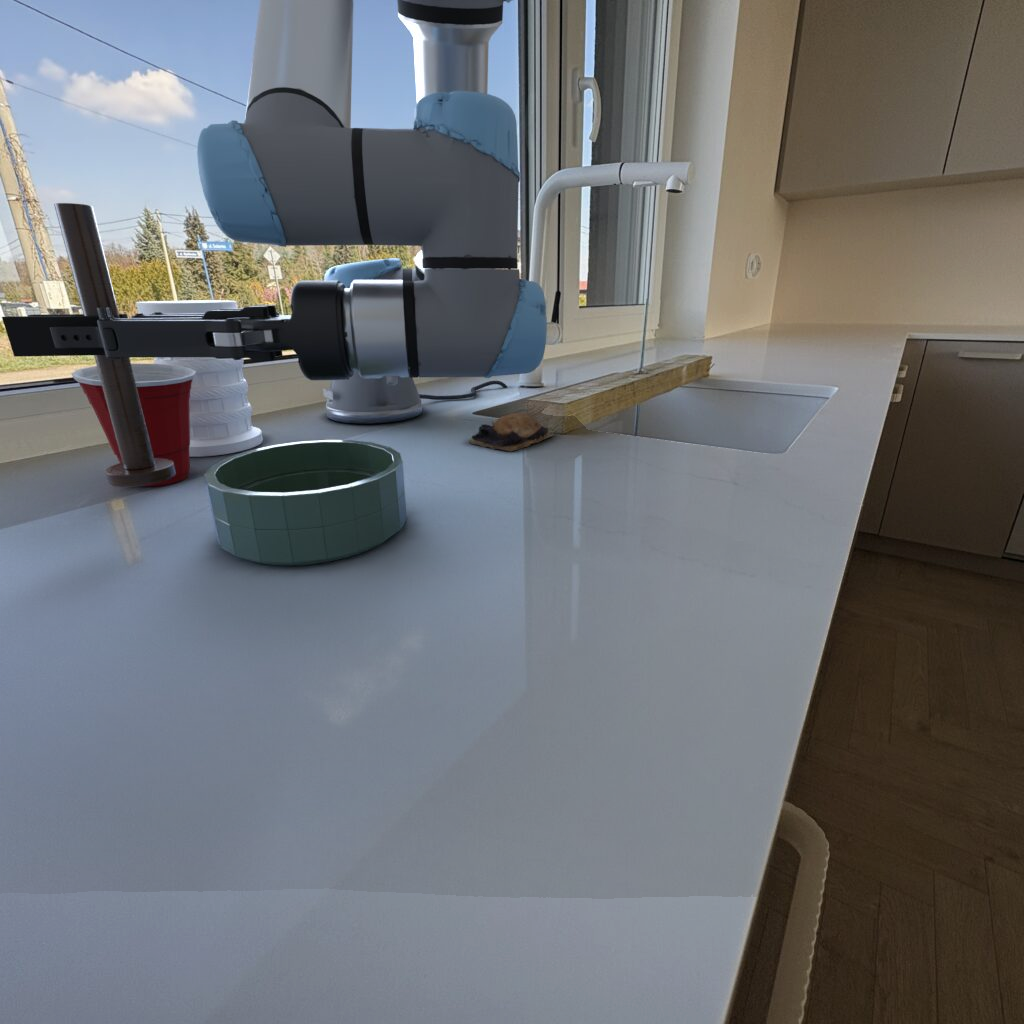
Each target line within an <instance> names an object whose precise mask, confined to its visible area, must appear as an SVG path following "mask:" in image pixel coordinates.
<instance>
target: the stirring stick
mask: <svg viewBox="0 0 1024 1024" xmlns="http://www.w3.org/2000/svg"><path fill="white" fill-rule="evenodd" d="M54 211H55V213H56V214H55V215H56V219H57V221H58V224H59V229H60V233H61V236H62V239H63V240H62V241H63V244H64V247H65V252H66V254H67V259H68V263H69V267H70V270H71V274H72V277H73V278H72V279H73V282H74V286H75V289H76V292H77V297H78V300H79V303H80V304H79V305H80V308H81V312H82V314H83V316H99V315H98V311H97V308H102V307H110V309H111V313H112V316H113V317H114V318H120V317H119V314H120V312H119V308H118V305H117V300H116V297H115V292H114V289H113V284H112V280H111V277H110V276H111V275H110V272H109V267H108V264H107V259H106V256H105V252H104V248H103V243H102V238H101V235H100V230H99V227H98V223H97V218H96V214H95V210H94V207H93V205H90V204H83V203H74V202H73V203H71V202H58V203H57V202H56V203H54ZM93 357H94V361H95V364H96V366H97V368H98V372H99V376H100V380H101V383H102V387H103V391H104V395H105V398H106V402H107V406H108V410H109V413H110V417H111V421H112V425H113V429H114V432H115V436H116V440H117V444H118V447H119V451H120V455H121V459H122V462H123V463H120V462H119V463H115V464H113V465H111V466H109V467H107V468H106V469H105V470H104V474H105V477H106V480H107V484H108V485H109V486H112V487H116V488H134V487H143V486H144V485H150V484H154V483H158V482H162V481H165V480H167V479H170V478H172V477H173V476H174V475H175V474H176V471H175V467H174V463H173V461H172V460H169V459H164V458H154V456H153V452H152V448H151V444H150V440H149V436H148V432H147V427H146V423H145V419H144V415H143V411H142V407H141V403H140V399H139V395H138V390H137V386H136V382H135V378H134V374H133V370H132V366H131V364H132V362H131V357H122V358H121V359H112V358H108V357H106V355H93Z"/></svg>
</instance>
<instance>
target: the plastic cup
mask: <svg viewBox="0 0 1024 1024" xmlns="http://www.w3.org/2000/svg"><path fill="white" fill-rule="evenodd" d="M131 366H132V370H133V374H134V378H135V382H136V386H137V390H138V395H139V399H140V403H141V407H142V411H143V415H144V419H145V423H146V427H147V432H148V436H149V440H150V444H151V448H152V452H153V456H154V458H164V459H169V460H172V461H173V463H174V467H175V471H176V474H175V475H174V476H173V477H172V478H170V479H167V480H165V481H162V482H158V483H154V484H150V485H144V486H142V487H143V488H144V487H148V488H149V487H157V486H158V487H160V486H165V485H170V484H174V483H175V484H176V483H178V482H180V481H183V480H185V479H186V478H188V477H189V476H190V469H191V460H190V459H191V458H190V455H189V446H190V412H189V399H190V390H191V383H192V380H193V379H194V377H195V375H196V371H194V370H192V369H190V368H186V367H181V366H176V365H163V364H154V363H131ZM70 374H71V376H72V378H73V380H75V382H77V383H78V385H79V386H80V387H81V388H82V391H83V394H84V395H85V396H86V398H87V401H88V403H89V404H90V405H91V407H92V409H93V412H94V414H95V416H96V417H97V420H98V422H99V425H101V426H100V427H101V428H102V430H103V433H104V434H105V436H106V439H107V441H108V443H109V446H110V447H111V450H112V452H113V454H114V455H115V456H116V458H117V460H118V462H119V463H123V462H122V459H121V455H120V451H119V447H118V444H117V440H116V436H115V432H114V429H113V425H112V421H111V417H110V413H109V410H108V406H107V402H106V398H105V395H104V391H103V387H102V383H101V380H100V376H99V372H98V368H97V365H93V366H88V367H83V368H79V369H76V370H74V371H73V372H71V373H70Z"/></svg>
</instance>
